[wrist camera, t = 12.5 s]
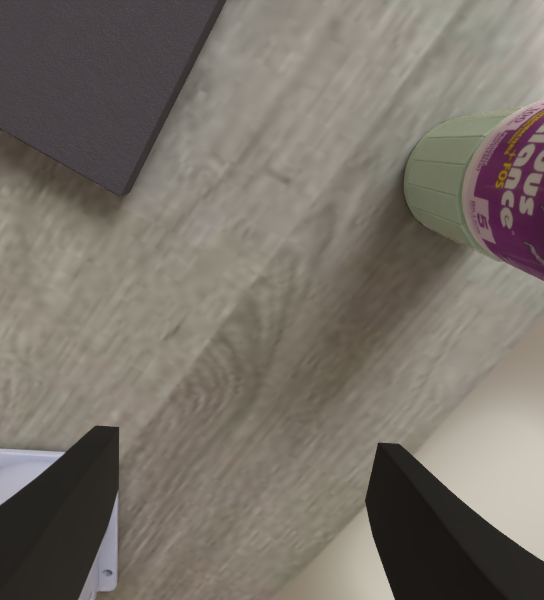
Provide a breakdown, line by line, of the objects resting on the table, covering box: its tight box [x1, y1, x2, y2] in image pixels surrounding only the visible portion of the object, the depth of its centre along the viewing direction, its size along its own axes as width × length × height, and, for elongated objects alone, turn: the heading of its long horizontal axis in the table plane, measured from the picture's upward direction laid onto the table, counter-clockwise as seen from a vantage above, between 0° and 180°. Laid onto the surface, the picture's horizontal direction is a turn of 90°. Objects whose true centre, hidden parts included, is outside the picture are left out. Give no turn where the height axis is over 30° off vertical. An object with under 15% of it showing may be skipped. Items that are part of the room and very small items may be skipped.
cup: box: [404, 108, 521, 262], centre depth 18 cm, size 5×5×6 cm
